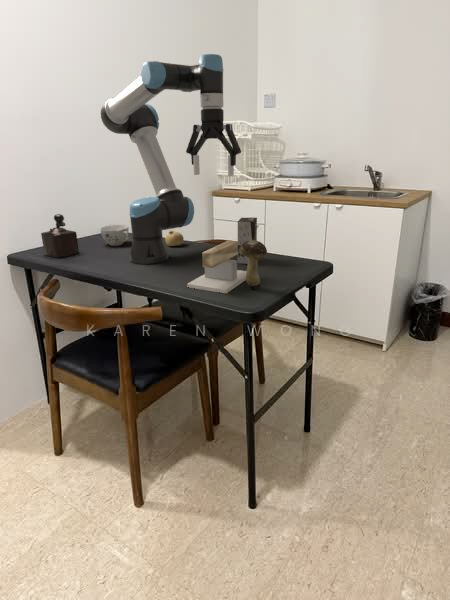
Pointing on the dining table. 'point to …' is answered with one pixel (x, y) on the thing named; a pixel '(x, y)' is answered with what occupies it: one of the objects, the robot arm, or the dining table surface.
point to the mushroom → (253, 260)
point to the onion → (174, 238)
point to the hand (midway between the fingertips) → (213, 175)
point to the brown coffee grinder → (59, 240)
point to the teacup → (115, 234)
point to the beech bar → (219, 254)
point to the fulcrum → (220, 278)
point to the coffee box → (246, 235)
